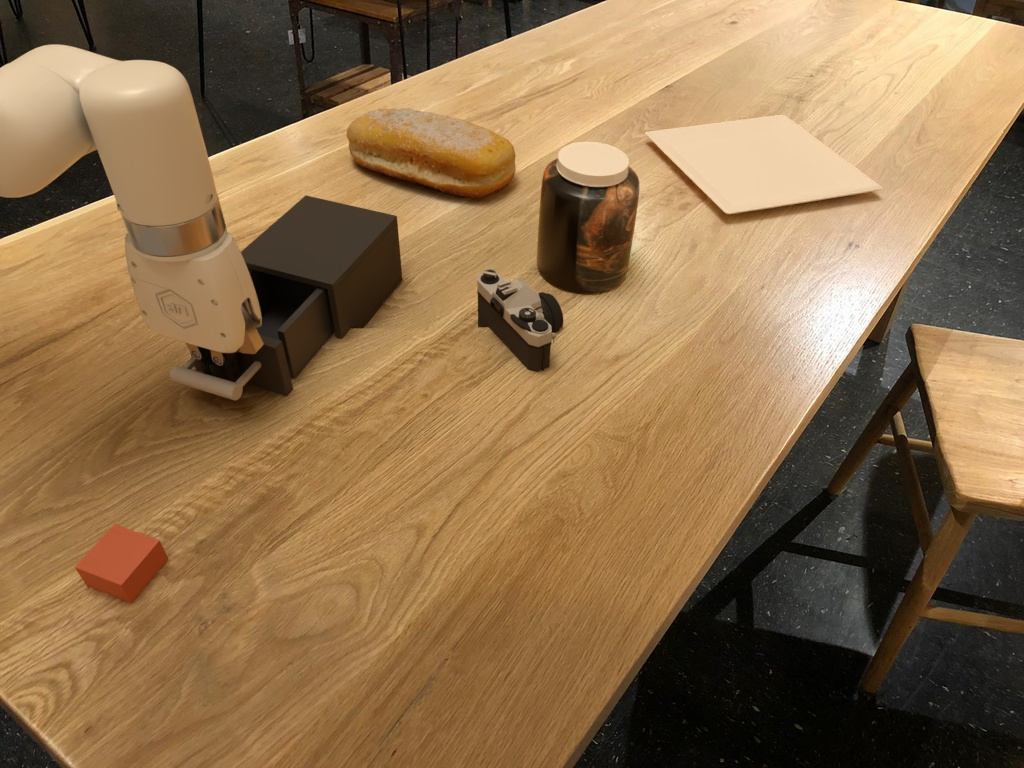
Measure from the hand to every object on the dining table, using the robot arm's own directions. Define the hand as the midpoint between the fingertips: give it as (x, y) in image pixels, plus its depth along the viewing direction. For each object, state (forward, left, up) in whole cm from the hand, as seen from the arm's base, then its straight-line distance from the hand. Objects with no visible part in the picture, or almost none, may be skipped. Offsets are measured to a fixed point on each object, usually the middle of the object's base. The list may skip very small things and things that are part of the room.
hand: (226, 383), depth 76 cm
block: (-3, -21, -3) cm, 21 cm away
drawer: (+2, +6, -2) cm, 6 cm away
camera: (+31, +9, -3) cm, 32 cm away
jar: (+39, +24, -3) cm, 46 cm away
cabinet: (+8, +17, -3) cm, 19 cm away
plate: (+69, +50, -3) cm, 85 cm away
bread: (+19, +49, -3) cm, 53 cm away
